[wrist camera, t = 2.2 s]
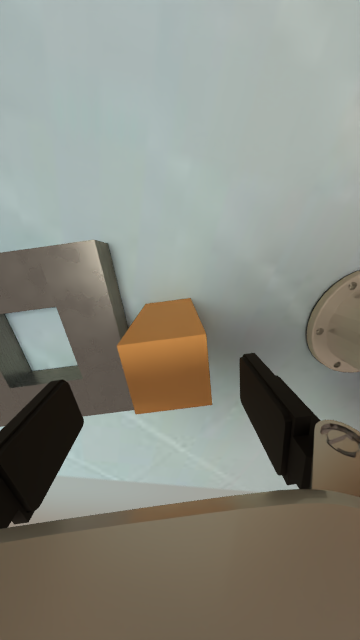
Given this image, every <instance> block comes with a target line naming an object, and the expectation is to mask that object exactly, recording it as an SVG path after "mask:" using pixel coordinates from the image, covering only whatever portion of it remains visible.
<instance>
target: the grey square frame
mask: <svg viewBox="0 0 360 640" xmlns="http://www.w3.org/2000/svg"><path fill="white" fill-rule="evenodd" d="M50 307H57V310H58V313H59V315H60V318H61V321H62V324H63V326H64V329H65V332H66V334H67V337H68V340H69V342H70V345H71V348H72V350H73V353H74V356H75V358H76V361H77V364H78V366H70V367H62V368H54V369H47V370H39V371H31V369H30V367H29V365H28V363H27V360H26V358H25V356H24V354H23V352H22V350H21V348H20V346H19V344H18V342H17V340H16V338H15V335H14V333H13V331H12V329H11V327H10V325H9V323H8V321H7V319H6V317H5V315H4V314H5V313H12V312H20V311H27V310H35V309H42V308H50ZM127 330H128V325H127V321H126V317H125V313H124V308H123V304H122V300H121V296H120V292H119V288H118V284H117V280H116V276H115V271H114V267H113V263H112V259H111V255H110V251H109V247H108V243H104V242H100V241H97V240H89V241H82V242H75V243H68V244H61V245H53V246H46V247H39V248H32V249H24V250H17V251H10V252H3V253H0V427H1V426H6V425H7V424H8V423H9V422H10V421H11V420H12V419H13V418H14V417H15V416H16V415H17V414H18V413H19V412H20V411H21V410H22V409H23V408H24V407H25V406H26V405H27V404H28V403H29V402H30V401H31V400H32V399H33V398H34V397H35V396H36V395H37V394H38V393H39V392H40V391H41V390H42V389H43V388H44V387H45V386H46V385H47V384H48V383H49V382H51V381H55V380H65V381H66V382H68V383H69V385H70V387H71V390H72V392H73V395H74V397H75V400H76V402H77V404H78V407H79V409H80V412H81V414H82V416H89V415H97V414H105V413H113V412H122V411H130V410H134V407H133V403H132V399H131V396H130V392H129V388H128V385H127V381H126V378H125V374H124V370H123V367H122V363H121V359H120V356H119V352H118V349H117V345H118V343H119V342H120V340H121V339H122V337H123V336H124V335H125V333H126V332H127Z"/></svg>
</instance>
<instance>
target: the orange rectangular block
mask: <svg viewBox="0 0 360 640" xmlns="http://www.w3.org/2000/svg"><path fill="white" fill-rule="evenodd" d="M117 349H118V352H119V356H120V359H121V363H122V367H123V370H124V374H125V378H126V381H127V385H128V388H129V392H130V396H131V399H132V403H133V407H134V410H135V414H142V413H150V412H158V411H167V410H175V409H183V408H191V407H199V406H207V405H212V397H211V385H210V373H209V362H208V350H207V338H206V333H205V330H204V328H203V326H202V324H201V321H200V319H199V317H198V314H197V312H196V310H195V308H194V305H193V303H192V301H191V298H187V299H180V300H172V301H165V302H157V303H150V304H145V306H144V307H143V308H142V310H141V311H140V313H139V314H138V316H137V317H136V319H135V320H134V321H133V323H132V324H131V326H130V327H129V329H128V330H127V332H126V333H125V335H124V336H123V337H122V339H121V340H120V342H119V343H118V345H117Z"/></svg>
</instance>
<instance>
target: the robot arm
mask: <svg viewBox="0 0 360 640" xmlns="http://www.w3.org/2000/svg"><path fill="white" fill-rule="evenodd" d="M307 342H308V346H309V349H310V351H311V353H312V354H313V356H314V357H315V358H316V359H317V360H318V361H319V362H321V363H322V364H324V365H325V366H327V367H328V368H330V369H332V370H336V371H340V372H360V271H356V272H354V273H352V274H350V275H348V276H346V277H344V278H343V279H342V280H340V281H339V282H337V283H336V284H334V285H333V286H332V287H331V288H330V289H329V290H328V291H327V292H326V293H325V294H324V295H323V297H322V298H321V299H320V300H319V302H318V303H317V305H316V306H315V308H314V310H313V312H312V314H311V317H310V319H309V322H308V327H307ZM240 399H241V403H242V405H243V407H244V409H245V411H246V413H247V415H248V417H249V419H250V421H251V423H252V425H253V427H254V429H255V431H256V433H257V435H258V437H259V439H260V441H261V443H262V445H263V447H264V449H265V451H266V453H267V455H268V457H269V459H270V461H271V463H272V465H273V467H274V469H275V471H276V473H277V474H278V475H282V476H283V478H284V480H285V482H286V484H287V485H292V484H297V486H298V487H299V489H294V490H277V491H269V492H260V493H251V494H243V495H234V496H226V497H220V498H211V499H204V500H197V501H190V502H182V503H175V504H168V505H160V506H153V507H147V508H139V509H132V510H125V511H118V512H112V513H104V514H98V515H90V516H84V517H77V518H70V519H63V520H56V521H50V522H43V523H36V524H30V525H23V526H16V527H10V528H7V527H8V526H9V524H10V523H11V521H12V522H13V523H14V524H20V523H27V522H29V520H30V518H31V517H32V515H33V513H34V511H35V510H36V509H37V508H39V506H40V505H41V503H42V501H43V499H44V497H45V496H46V494H47V492H48V490H49V488H50V486H51V484H52V482H53V481H54V479H55V477H56V475H57V473H58V471H59V470H60V468H61V466H62V464H63V462H64V460H65V458H66V457H67V455H68V453H69V451H70V449H71V447H72V445H73V444H74V442H75V440H76V438H77V436H78V434H79V432H80V430H81V429H82V427H83V424H84V419H83V417H82V414H81V412H80V409H79V407H78V404H77V402H76V400H75V397H74V395H73V392H72V390H71V387H70V385H69V383H68V382H66V381H65V380H55V381H51V382H49V383H48V384H47V385H46V386H45V387H44V388H43V389H42V390H41V391H40V392H39V393H38V394H37V395H36V396H35V397H34V398H33V399H32V400H31V401H30V402H29V403H28V404H27V405H26V406H25V407H24V408H23V409H22V410H21V411H20V412H19V413H18V414H17V415H16V416H15V417H14V418H13V419H12V420H11V421H10V422H9V423H8V424H7V425H6V426H5V427H4V428H3V429H2V430H1V431H0V640H360V432H359V431H357V430H356V429H354V428H352V427H351V426H349V425H346V424H344V423H342V422H338V421H335V420H322V421H320V420H319V419H318V417H317V416H316V415H315V414H314V413H313V412H312V411H311V410H310V409H309V408H308V407H307V406H306V405H305V404H304V403H303V402H302V400H301V399H300V398H299V397H298V396H297V395H296V394H295V393H294V392H293V391H292V390H291V389H290V388H289V387H288V386H287V385H286V384H285V382H284V381H283V380H282V379H281V378H280V377H278V376H275V375H274V374H273V373H272V371H271V370H270V369H269V368H268V367H267V366H266V365H265V364H264V363H263V362H262V361H261V359H260V358H259V357H258V356H257V355H256V354H255V353H250V354H243V357H241V358H240Z"/></svg>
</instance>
